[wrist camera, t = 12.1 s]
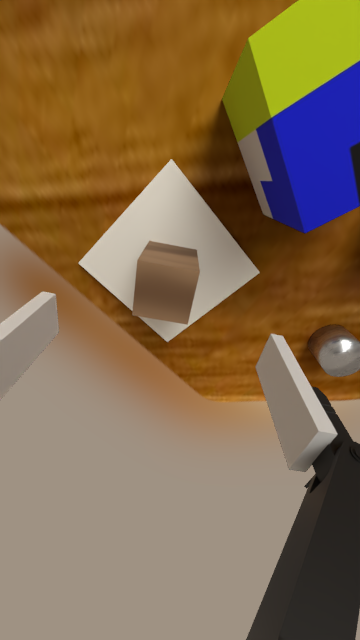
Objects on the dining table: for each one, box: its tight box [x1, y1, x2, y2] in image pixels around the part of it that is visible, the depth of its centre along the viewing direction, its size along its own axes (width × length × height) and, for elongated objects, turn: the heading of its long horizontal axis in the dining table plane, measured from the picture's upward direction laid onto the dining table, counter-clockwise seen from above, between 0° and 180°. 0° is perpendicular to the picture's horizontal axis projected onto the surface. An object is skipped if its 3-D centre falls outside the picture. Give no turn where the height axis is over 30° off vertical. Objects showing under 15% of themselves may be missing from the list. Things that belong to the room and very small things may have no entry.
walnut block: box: [132, 241, 200, 325], centre depth 23 cm, size 5×5×7 cm
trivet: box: [79, 159, 260, 342], centre depth 27 cm, size 14×14×1 cm
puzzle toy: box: [222, 0, 360, 233], centre depth 16 cm, size 10×10×10 cm
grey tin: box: [308, 325, 360, 377], centre depth 30 cm, size 5×5×4 cm
